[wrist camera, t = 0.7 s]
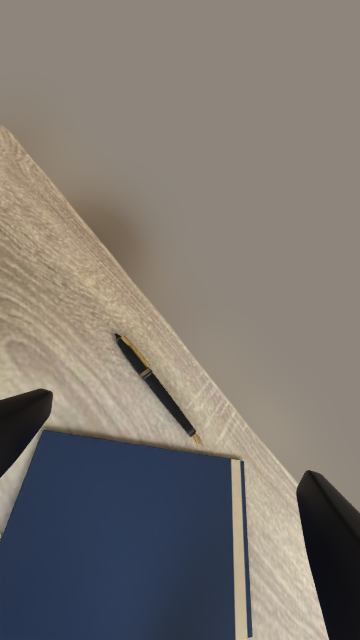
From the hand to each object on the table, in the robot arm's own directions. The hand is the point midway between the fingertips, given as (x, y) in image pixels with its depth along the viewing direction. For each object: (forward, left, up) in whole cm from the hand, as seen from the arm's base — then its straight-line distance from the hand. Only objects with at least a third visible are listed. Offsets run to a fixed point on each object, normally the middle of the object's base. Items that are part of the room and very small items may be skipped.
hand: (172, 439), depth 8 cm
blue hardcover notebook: (-5, -7, -14) cm, 17 cm away
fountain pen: (+6, -5, -14) cm, 16 cm away
